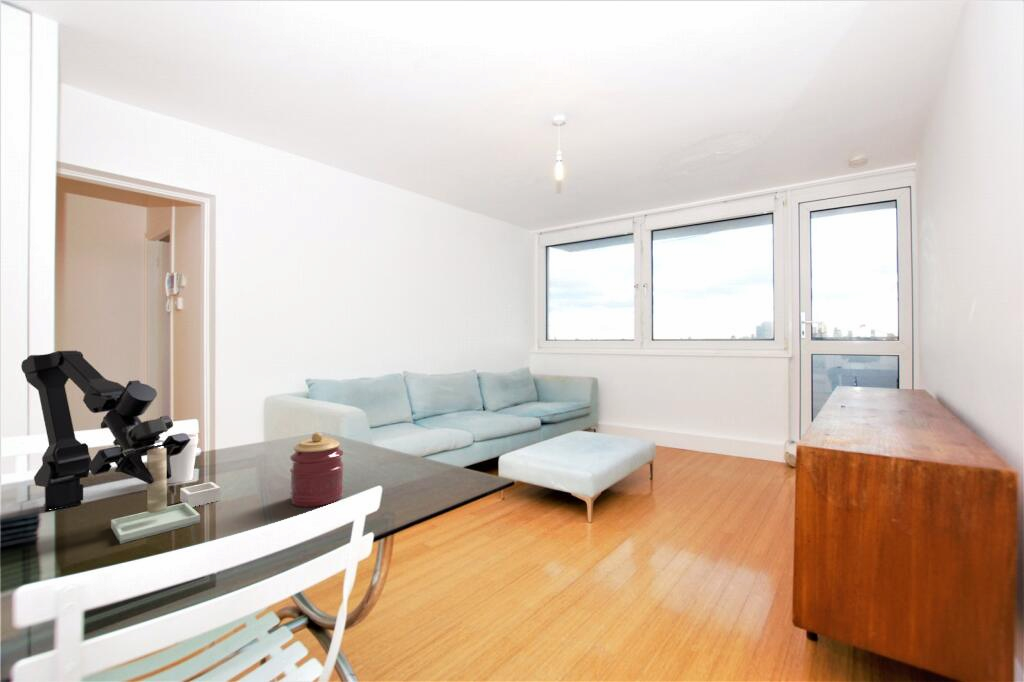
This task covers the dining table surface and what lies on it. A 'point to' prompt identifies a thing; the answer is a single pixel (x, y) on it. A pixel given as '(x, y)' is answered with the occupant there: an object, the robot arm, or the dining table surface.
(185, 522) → the tray
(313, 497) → the canister
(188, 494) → the collar
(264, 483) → the dining table surface
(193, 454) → the foam cup
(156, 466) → the dowel
